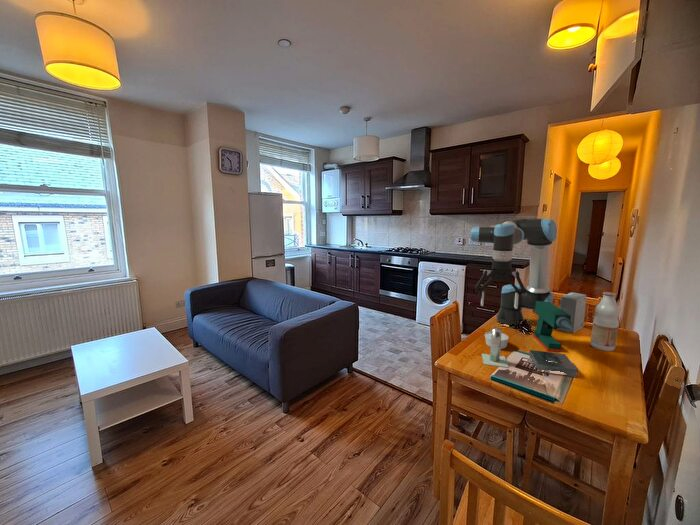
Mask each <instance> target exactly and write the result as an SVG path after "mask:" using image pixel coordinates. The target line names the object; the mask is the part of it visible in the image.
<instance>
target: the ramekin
mask: <svg viewBox="0 0 700 525" xmlns="http://www.w3.org/2000/svg"><path fill="white" fill-rule="evenodd" d="M491 335H492V331H486V332H485V333H484V338H485V343H486V345H487V346H488V347H490V348H491ZM509 340H510V338H509V335H507V334H506V333H503V332H502V334H501V347H500V350H503V349H506V347H507V346H508V342H509Z"/></svg>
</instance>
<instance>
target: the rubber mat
mask: <svg viewBox="0 0 700 525" xmlns="http://www.w3.org/2000/svg"><path fill="white" fill-rule="evenodd" d="M481 357H482V362H483V365H485V366H493V367H500V368H506V367H509V364H508V362H507V359H506V357H505V356H504V355H500V361H499V362H493V361H491V360H490V353H489V354H487V353H481Z"/></svg>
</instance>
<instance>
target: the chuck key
mask: <svg viewBox="0 0 700 525" xmlns="http://www.w3.org/2000/svg"><path fill="white" fill-rule="evenodd" d="M491 332H492V335H491V347H490V351H489V355H490V360H491V361H493V362H499V361H500V356H501V349H500V347H501V334H502V333H503V332H502V328H500V327H497V326H493V327H492V328H491Z"/></svg>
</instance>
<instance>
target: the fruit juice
mask: <svg viewBox="0 0 700 525" xmlns="http://www.w3.org/2000/svg"><path fill="white" fill-rule="evenodd" d="M602 296H603V297H602V299H601V300H600V302H599V303H598V304H596V307H595V309H594V311H595V316H593V320H592V321H593V322H592V327H591V328H592V329H591V336H590V345H591V347H593V348H595V349H597V350H601V351H607V352H612V351H614V350H615V349H616V345H617V339H618V338H617V337H618V331H619V326H620V325H619V319H618V318H619V316H620V314H621V309H620V308H619V307H618V303H617V301H616V298H617V293H614V292H612V291H611V292H610V291H609V292H608V291H603V292H602Z"/></svg>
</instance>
